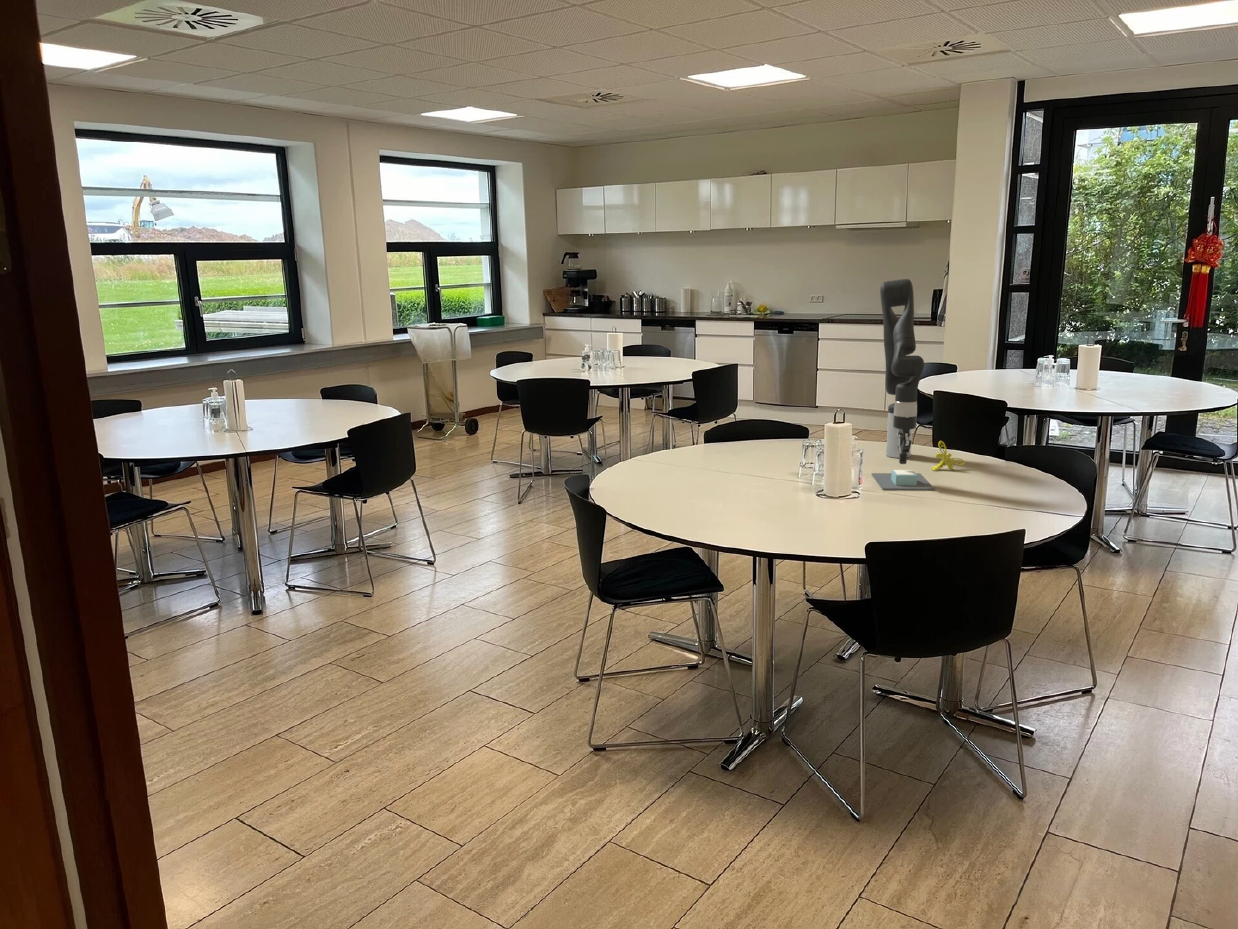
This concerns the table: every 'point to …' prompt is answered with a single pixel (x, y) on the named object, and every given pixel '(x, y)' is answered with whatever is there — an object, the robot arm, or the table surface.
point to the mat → (888, 484)
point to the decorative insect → (944, 456)
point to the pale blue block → (904, 477)
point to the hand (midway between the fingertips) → (902, 463)
